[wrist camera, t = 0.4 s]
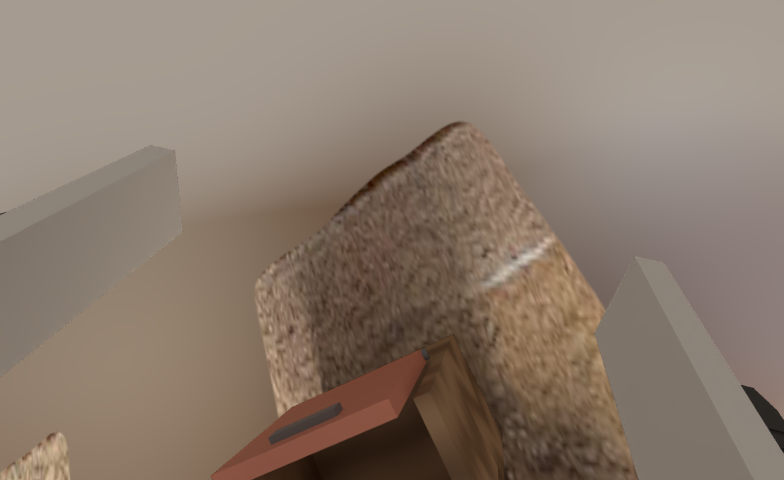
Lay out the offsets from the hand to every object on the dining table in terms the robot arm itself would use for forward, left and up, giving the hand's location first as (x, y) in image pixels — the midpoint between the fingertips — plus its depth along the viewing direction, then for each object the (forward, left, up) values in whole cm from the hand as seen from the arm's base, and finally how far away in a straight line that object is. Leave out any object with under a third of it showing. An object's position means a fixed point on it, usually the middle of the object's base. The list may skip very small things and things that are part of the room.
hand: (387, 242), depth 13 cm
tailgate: (-8, +13, -25) cm, 29 cm away
